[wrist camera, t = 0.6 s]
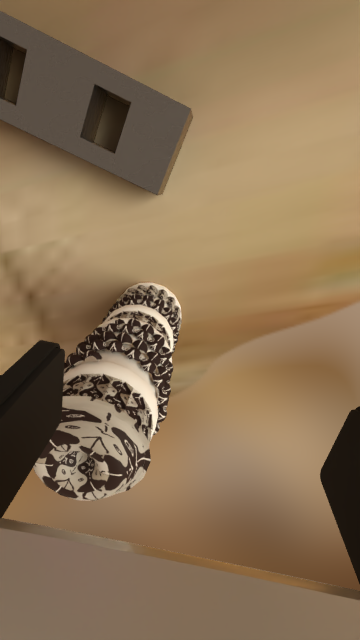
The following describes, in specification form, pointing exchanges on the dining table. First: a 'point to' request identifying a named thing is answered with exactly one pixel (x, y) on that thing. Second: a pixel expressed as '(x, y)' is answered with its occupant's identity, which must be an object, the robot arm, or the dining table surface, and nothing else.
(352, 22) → the dining table surface
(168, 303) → the decorative candle
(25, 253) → the dining table surface
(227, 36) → the dining table surface
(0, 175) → the dining table surface
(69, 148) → the grey block with holes
